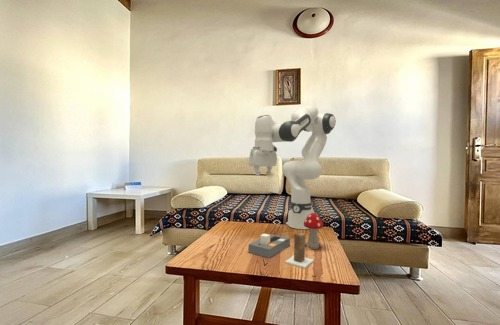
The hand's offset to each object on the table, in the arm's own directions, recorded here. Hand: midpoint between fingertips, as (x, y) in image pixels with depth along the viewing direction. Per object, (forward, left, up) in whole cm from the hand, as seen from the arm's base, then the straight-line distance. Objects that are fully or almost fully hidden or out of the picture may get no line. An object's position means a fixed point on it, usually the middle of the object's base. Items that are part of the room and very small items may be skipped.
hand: (263, 175), depth 119 cm
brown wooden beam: (+16, +27, -30) cm, 44 cm away
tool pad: (+16, +27, -31) cm, 44 cm away
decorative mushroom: (-3, +25, -31) cm, 40 cm away
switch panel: (+11, +11, -31) cm, 35 cm away
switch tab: (+15, +11, -30) cm, 35 cm away
